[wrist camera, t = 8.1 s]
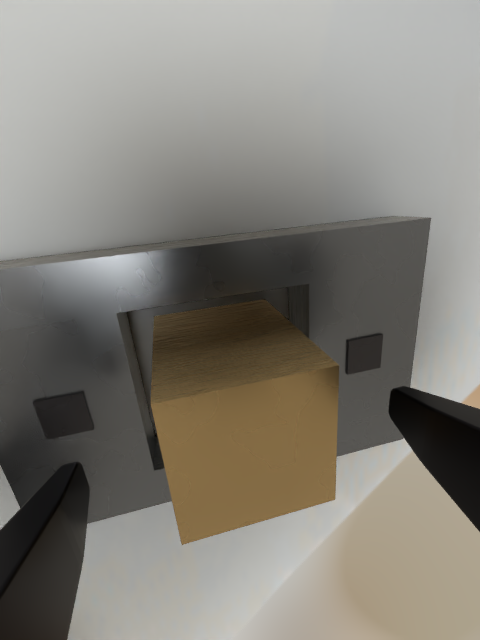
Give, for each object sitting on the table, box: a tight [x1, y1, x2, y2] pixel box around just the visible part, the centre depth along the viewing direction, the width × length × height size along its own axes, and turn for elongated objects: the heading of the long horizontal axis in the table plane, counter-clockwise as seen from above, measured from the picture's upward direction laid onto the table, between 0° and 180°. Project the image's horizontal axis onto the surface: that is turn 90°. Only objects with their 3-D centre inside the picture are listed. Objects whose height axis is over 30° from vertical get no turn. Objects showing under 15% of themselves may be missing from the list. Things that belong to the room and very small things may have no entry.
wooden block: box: [151, 299, 339, 545], centre depth 11 cm, size 4×4×6 cm
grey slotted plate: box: [0, 216, 431, 524], centre depth 13 cm, size 10×16×2 cm, turn 96°
